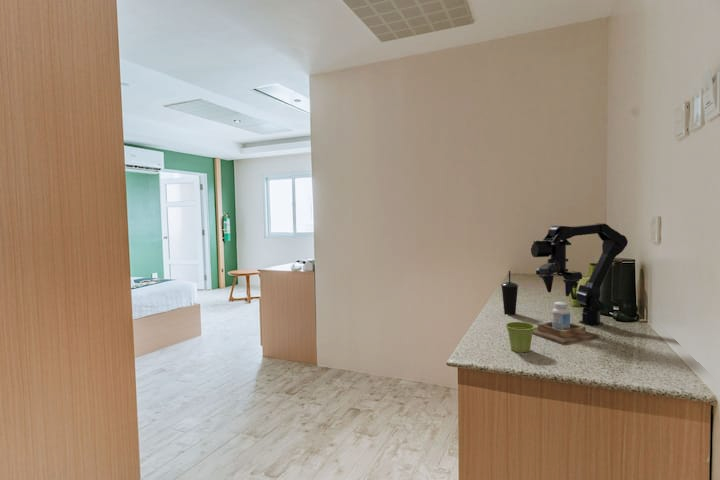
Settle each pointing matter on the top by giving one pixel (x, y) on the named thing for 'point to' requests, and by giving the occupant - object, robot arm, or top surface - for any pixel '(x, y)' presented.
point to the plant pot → (520, 336)
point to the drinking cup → (509, 297)
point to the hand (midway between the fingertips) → (558, 294)
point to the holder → (563, 333)
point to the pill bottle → (561, 316)
